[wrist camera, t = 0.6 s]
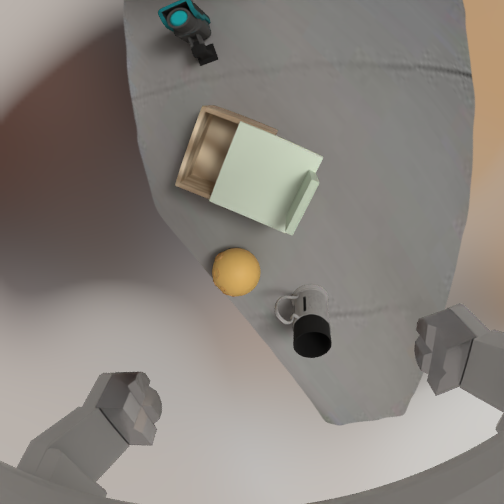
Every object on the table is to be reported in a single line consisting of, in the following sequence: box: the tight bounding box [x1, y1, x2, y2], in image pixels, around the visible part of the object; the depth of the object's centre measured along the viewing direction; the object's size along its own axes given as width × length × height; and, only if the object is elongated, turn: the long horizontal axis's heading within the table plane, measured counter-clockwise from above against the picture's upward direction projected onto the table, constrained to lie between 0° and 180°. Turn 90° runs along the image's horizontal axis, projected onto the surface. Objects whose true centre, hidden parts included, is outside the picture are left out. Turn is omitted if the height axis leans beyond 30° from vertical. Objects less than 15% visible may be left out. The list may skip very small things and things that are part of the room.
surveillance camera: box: [158, 0, 218, 66], centre depth 40 cm, size 6×12×10 cm
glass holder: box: [275, 284, 331, 358], centre depth 62 cm, size 9×14×15 cm, turn 52°
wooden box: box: [175, 105, 278, 199], centre depth 52 cm, size 15×13×8 cm
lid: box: [209, 121, 323, 235], centre depth 46 cm, size 15×14×7 cm
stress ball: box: [212, 248, 260, 297], centre depth 62 cm, size 10×10×10 cm
